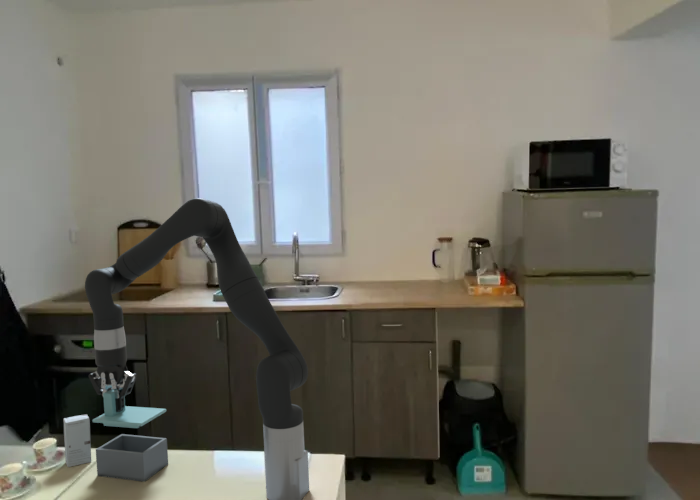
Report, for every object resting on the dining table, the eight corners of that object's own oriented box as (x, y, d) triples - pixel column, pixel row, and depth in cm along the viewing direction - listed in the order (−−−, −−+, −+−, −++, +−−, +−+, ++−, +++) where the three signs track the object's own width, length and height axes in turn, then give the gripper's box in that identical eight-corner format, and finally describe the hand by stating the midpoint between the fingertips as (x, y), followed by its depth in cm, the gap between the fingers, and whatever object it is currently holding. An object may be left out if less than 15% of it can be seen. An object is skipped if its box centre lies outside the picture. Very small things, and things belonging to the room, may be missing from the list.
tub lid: (166, 415, 152) (164, 386, 151) (142, 430, 142) (139, 399, 141) (120, 412, 156) (118, 383, 155) (92, 426, 146) (90, 396, 145)
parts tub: (168, 464, 153) (166, 438, 152) (144, 481, 143) (142, 454, 143) (123, 459, 157) (121, 434, 156) (97, 475, 147) (95, 449, 147)
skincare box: (67, 468, 152) (64, 423, 152) (65, 462, 156) (62, 418, 155) (92, 461, 156) (89, 417, 155) (89, 456, 160) (86, 413, 159)
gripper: (142, 342, 150) (147, 407, 152) (98, 341, 154) (102, 404, 156) (123, 349, 143) (128, 417, 144) (77, 347, 147) (82, 414, 148)
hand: (115, 410), depth 150 cm, fingers closed on tub lid, 2 cm apart
